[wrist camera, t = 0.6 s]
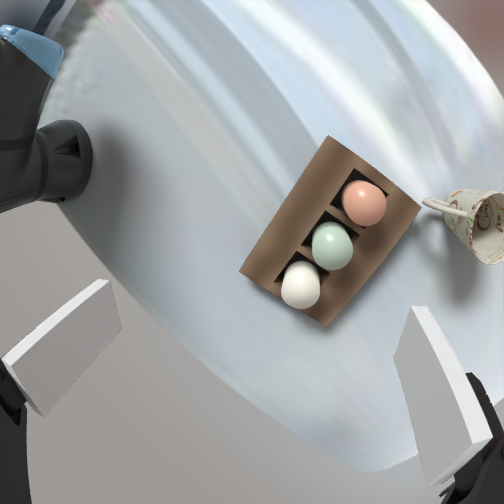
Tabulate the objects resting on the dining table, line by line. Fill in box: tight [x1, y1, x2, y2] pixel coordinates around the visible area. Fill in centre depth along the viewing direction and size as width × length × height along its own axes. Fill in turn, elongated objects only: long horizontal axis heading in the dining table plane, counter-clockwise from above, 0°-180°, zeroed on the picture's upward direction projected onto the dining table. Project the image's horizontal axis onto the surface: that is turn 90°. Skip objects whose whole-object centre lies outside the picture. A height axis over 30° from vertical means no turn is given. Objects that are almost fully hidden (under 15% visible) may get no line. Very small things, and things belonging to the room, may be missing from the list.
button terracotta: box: [341, 180, 386, 226], centre depth 28 cm, size 4×4×4 cm
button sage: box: [312, 222, 353, 270], centre depth 30 cm, size 4×4×4 cm
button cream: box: [281, 261, 320, 309], centre depth 33 cm, size 4×4×4 cm
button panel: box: [239, 135, 422, 326], centre depth 34 cm, size 14×20×4 cm
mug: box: [422, 189, 504, 265], centre depth 26 cm, size 8×13×10 cm, turn 85°
